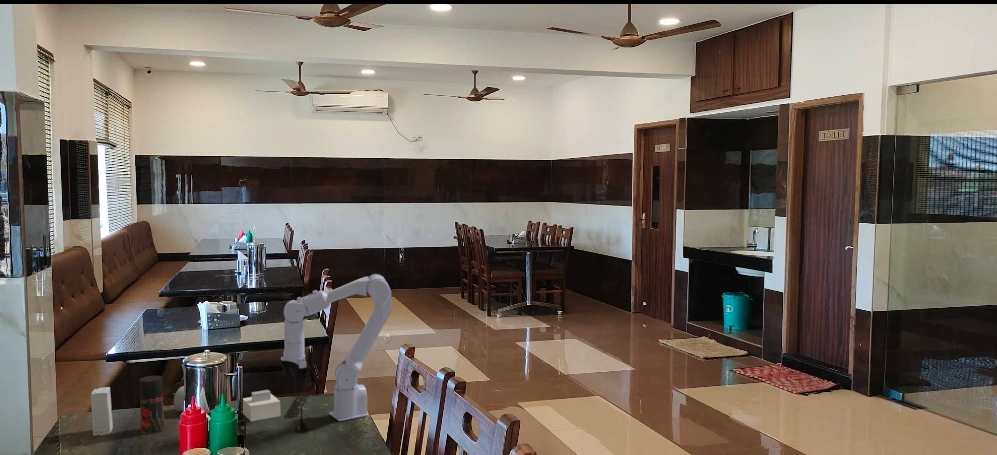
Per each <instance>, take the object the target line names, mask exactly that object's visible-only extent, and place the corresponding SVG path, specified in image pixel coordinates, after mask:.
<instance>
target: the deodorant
mask: <svg viewBox="0 0 997 455" xmlns="http://www.w3.org/2000/svg"><path fill="white" fill-rule="evenodd" d="M138 381H139V386H138V387H139V409H140V410H139V412H140V413H139V414H140V415H139V416H140V433H142V434H148V435H149V434H155V433H160V432H162V431H164V429H165V428H164V420H165V419H164V395H163V394H164V393H163V391H164V390H163V376H161V375H148V376H144V377H141V378H139V379H138Z"/></svg>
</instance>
